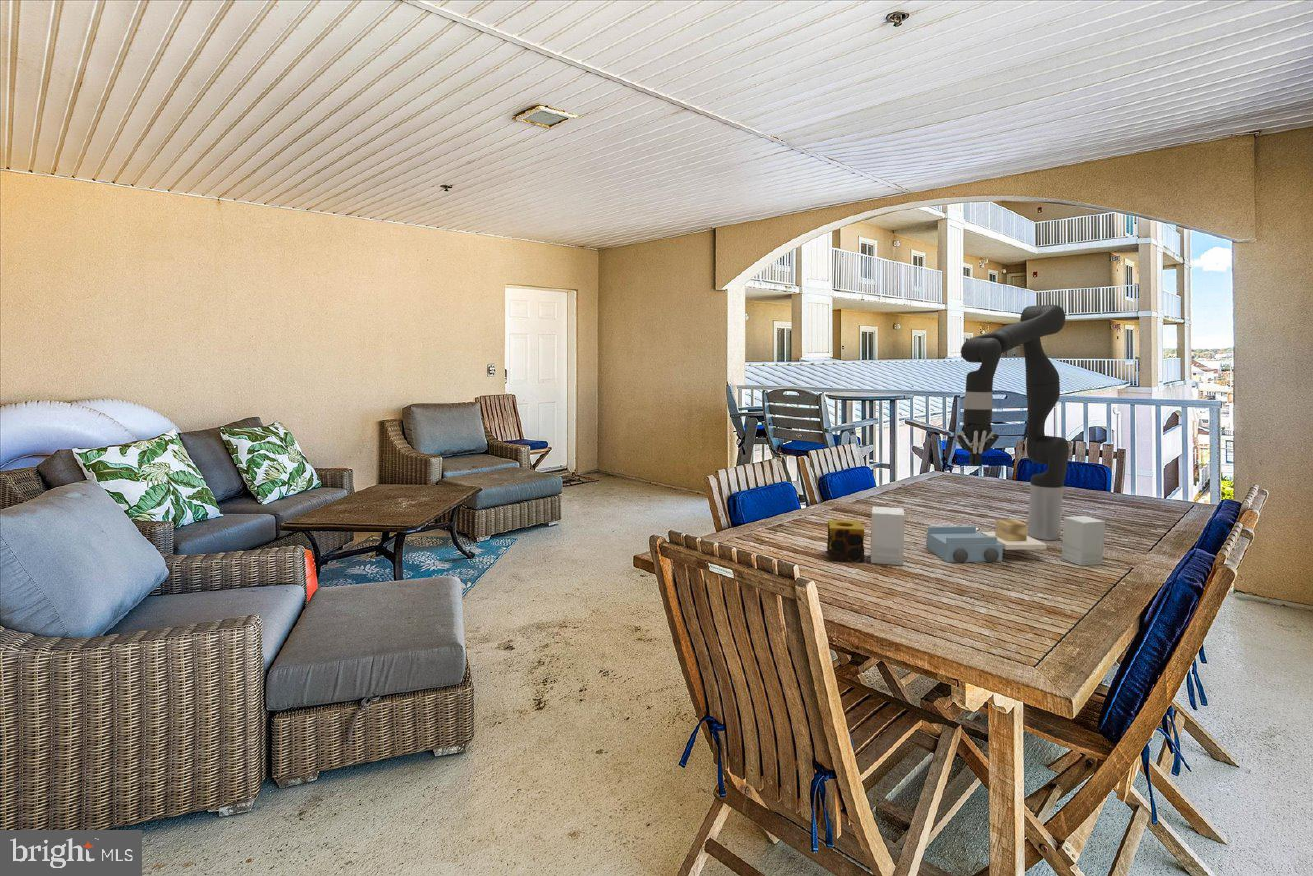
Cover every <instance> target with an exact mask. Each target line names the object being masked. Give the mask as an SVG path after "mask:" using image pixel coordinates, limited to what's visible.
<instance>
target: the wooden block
mask: <svg viewBox="0 0 1313 876" xmlns="http://www.w3.org/2000/svg"><path fill="white" fill-rule="evenodd" d="M995 520H996V521H995V531H994V532H995V536H997V537H999V538H1001V539H1003V540H1005V541H1026V539H1027V536H1028V535H1027V530H1028V523H1025V522H1022V521H1020V520H1018V519H1016V518H1015V519H1009V518H1007V519H995Z"/></svg>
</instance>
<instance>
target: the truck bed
mask: <svg viewBox="0 0 1313 876" xmlns="http://www.w3.org/2000/svg"><path fill="white" fill-rule="evenodd" d="M925 542H926V545H925V546H926V547H925V548H926V549H927V550H928V551H930V552H931V553H933V554H934V555H936V556H938V557H939V558H940V559H942V560H943V561H945V562H946V563H959V564H963V563H976V562H977V563H978V562H979V563H980V562H981V563H983V562H985V563H987V562H989V563H994V562H1002V561H1003V551H1004V550H1003V549H1004V548H1003V544H1001V543H999V542H997V537H995V536H989V537H987V536H985V535H983V534H981V532H979V531H977V526H976V525H955V526H953V525H951V526H949V525H947V526H945V525H944V526H943V525H942V526H940V525H939V526H927V532H926V541H925Z"/></svg>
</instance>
